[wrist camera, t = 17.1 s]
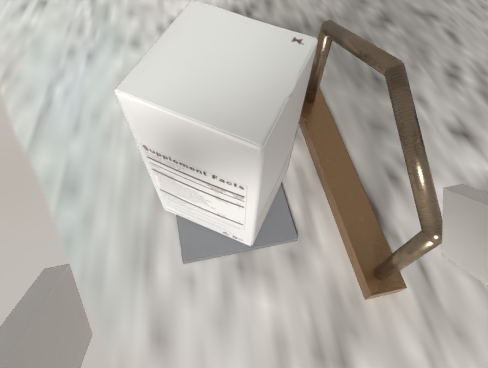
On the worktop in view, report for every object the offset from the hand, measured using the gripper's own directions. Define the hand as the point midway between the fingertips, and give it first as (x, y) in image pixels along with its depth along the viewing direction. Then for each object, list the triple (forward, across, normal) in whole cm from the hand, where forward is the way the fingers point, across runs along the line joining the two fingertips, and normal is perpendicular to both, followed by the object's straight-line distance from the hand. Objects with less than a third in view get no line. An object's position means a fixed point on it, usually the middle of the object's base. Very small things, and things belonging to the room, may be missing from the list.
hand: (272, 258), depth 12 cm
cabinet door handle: (+20, +11, -5) cm, 23 cm away
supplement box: (+20, 0, -4) cm, 21 cm away
